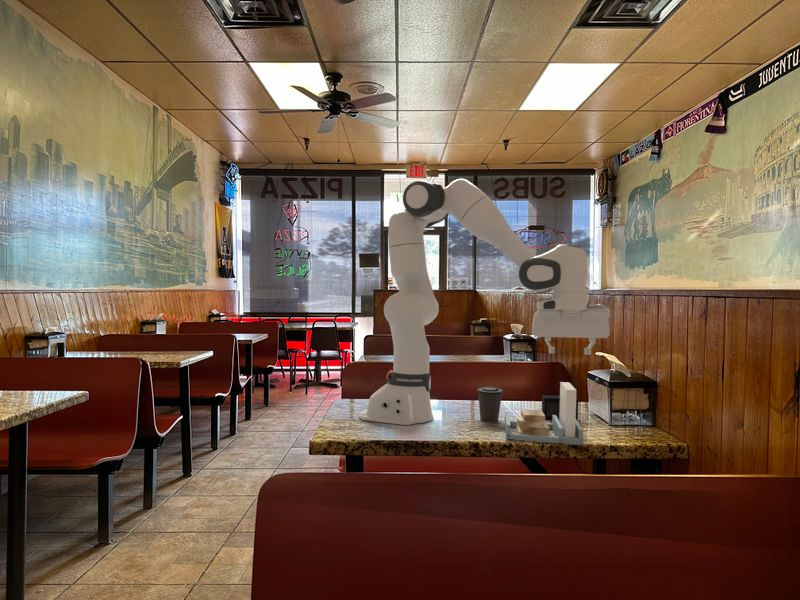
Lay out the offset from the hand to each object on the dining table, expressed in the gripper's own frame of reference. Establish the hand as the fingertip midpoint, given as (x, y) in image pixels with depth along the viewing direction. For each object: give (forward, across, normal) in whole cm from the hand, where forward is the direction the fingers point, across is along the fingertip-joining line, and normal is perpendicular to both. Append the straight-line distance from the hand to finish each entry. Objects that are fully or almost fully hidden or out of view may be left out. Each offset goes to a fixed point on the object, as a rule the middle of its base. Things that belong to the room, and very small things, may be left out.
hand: (569, 354), depth 140 cm
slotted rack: (+23, +7, 0) cm, 24 cm away
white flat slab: (+23, 0, 0) cm, 23 cm away
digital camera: (+23, 0, -20) cm, 31 cm away
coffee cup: (+23, +22, -13) cm, 34 cm away
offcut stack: (+23, +10, 0) cm, 25 cm away
